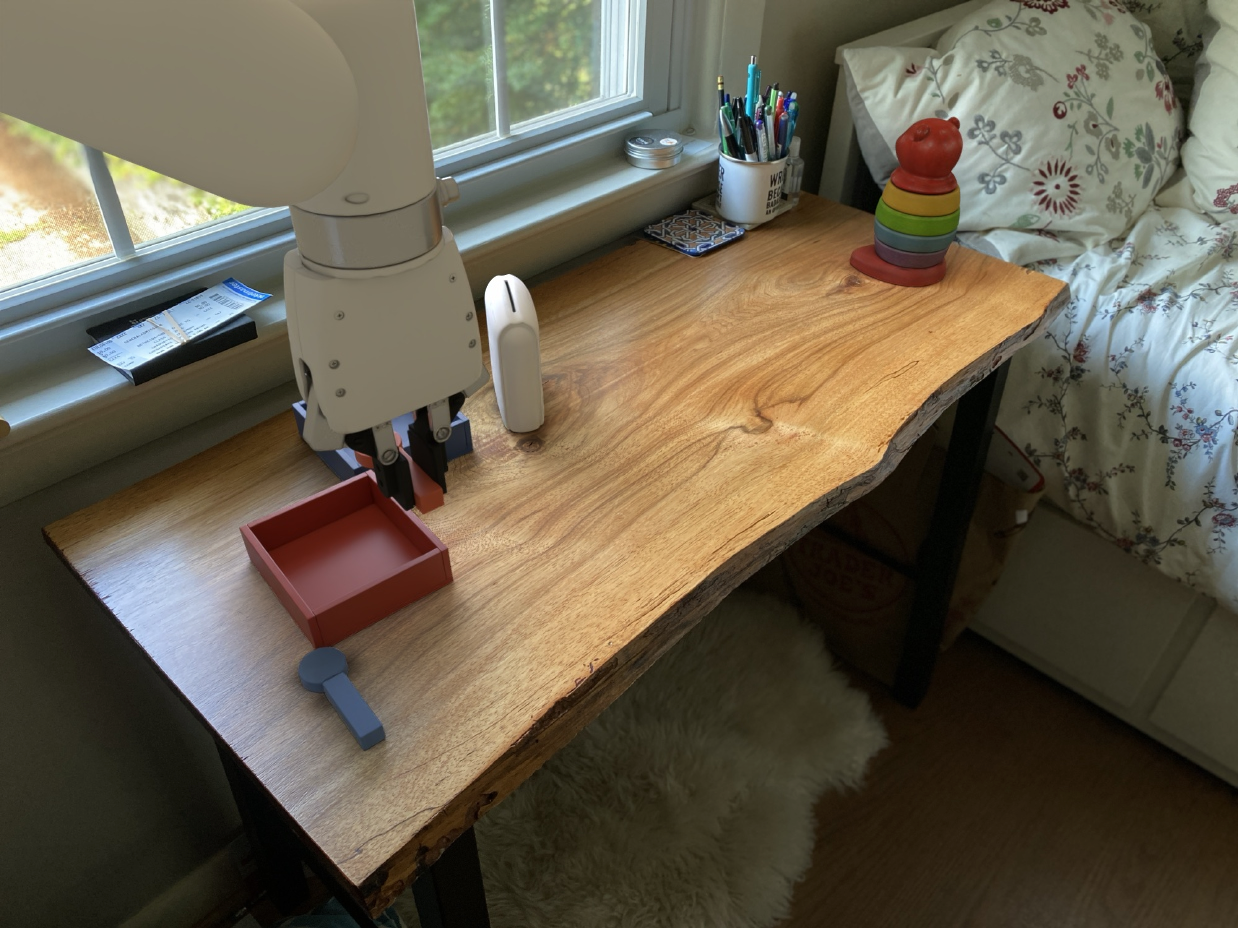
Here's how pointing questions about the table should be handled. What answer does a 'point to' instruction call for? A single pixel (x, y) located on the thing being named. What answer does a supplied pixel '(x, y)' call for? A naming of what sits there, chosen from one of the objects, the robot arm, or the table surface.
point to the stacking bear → (916, 208)
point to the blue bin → (345, 458)
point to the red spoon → (414, 481)
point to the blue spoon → (340, 693)
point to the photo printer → (515, 353)
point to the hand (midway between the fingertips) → (415, 490)
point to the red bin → (346, 558)
